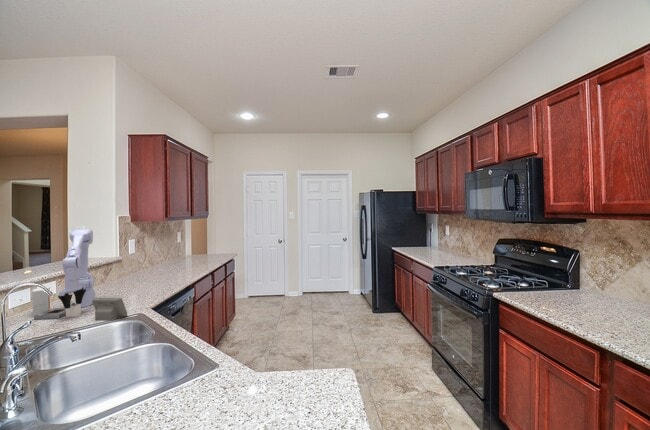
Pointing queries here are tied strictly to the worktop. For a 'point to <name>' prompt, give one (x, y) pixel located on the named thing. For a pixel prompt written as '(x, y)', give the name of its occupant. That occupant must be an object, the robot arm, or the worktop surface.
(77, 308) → the plug
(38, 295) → the small box
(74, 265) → the robot arm
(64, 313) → the socket plate
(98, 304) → the digital clock
